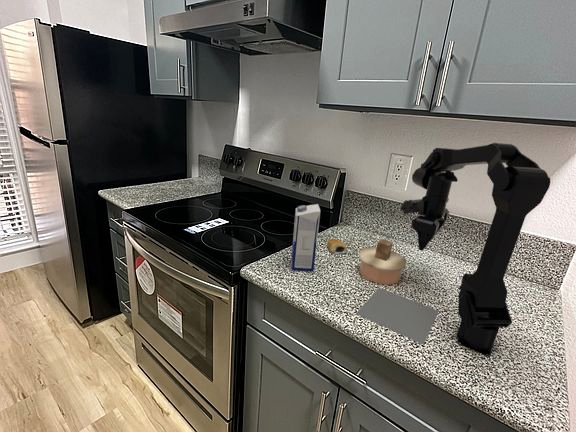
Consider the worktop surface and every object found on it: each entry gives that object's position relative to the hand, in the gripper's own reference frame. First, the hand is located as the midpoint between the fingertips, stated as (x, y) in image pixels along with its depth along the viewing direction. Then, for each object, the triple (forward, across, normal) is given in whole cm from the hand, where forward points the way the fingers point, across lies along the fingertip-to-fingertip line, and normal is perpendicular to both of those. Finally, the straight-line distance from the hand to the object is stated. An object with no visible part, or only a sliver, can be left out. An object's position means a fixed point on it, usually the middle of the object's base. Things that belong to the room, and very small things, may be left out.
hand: (424, 245), depth 91 cm
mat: (+12, +21, +1) cm, 24 cm away
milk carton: (+12, +17, -31) cm, 37 cm away
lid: (+6, +5, -10) cm, 13 cm away
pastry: (+12, -2, -29) cm, 32 cm away
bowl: (+12, +5, -10) cm, 16 cm away
